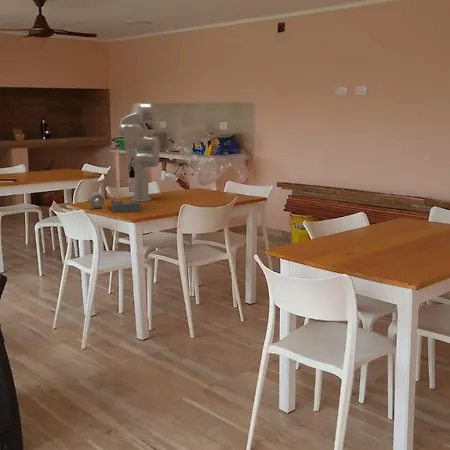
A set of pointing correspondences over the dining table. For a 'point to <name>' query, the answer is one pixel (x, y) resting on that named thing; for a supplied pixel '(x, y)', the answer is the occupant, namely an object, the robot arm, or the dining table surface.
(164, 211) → the dining table surface
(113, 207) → the socket block
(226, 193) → the dining table surface
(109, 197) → the clip
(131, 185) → the plug
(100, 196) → the donut
